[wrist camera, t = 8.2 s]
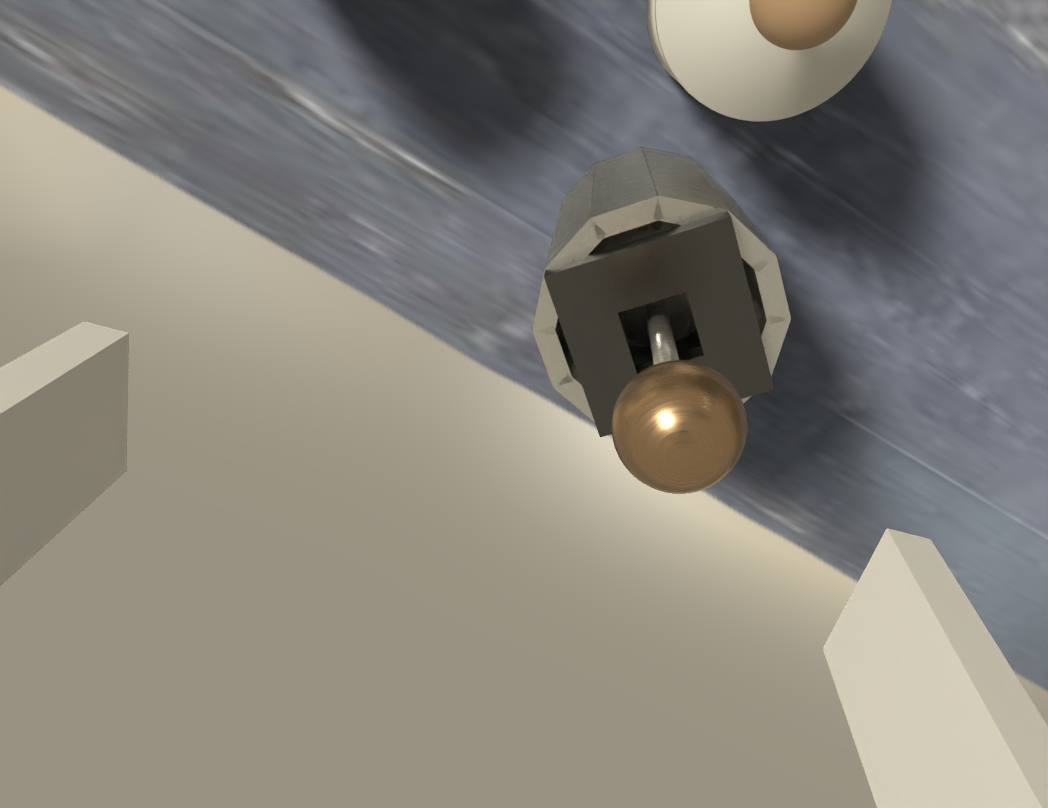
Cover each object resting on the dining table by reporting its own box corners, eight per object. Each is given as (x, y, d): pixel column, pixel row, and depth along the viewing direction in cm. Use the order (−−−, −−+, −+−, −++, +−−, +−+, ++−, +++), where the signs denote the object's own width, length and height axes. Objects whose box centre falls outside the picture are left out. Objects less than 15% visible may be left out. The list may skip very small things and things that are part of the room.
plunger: (703, 177, 41) (789, 300, 22) (740, 318, 44) (843, 534, 25) (556, 226, 43) (517, 379, 24) (601, 359, 46) (598, 589, 27)
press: (708, 123, 47) (760, 167, 31) (761, 335, 52) (828, 463, 36) (532, 185, 49) (498, 254, 34) (599, 381, 54) (597, 520, 39)
